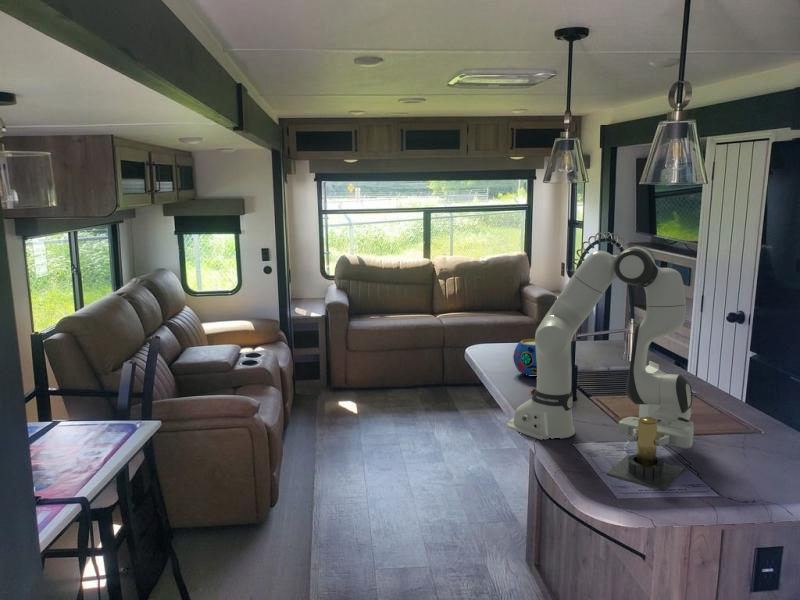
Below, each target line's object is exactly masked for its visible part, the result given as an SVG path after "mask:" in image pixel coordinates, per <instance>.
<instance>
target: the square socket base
mask: <svg viewBox="0 0 800 600" xmlns="http://www.w3.org/2000/svg"><path fill="white" fill-rule="evenodd" d="M683 471H685V470H684V468H683V467H679V466H675V465H672V464H667V463H664V461H663V459H662V458H660V457H657V456H656V465H652V466H647V465H641V464H638V463H637V453H635V454H627V455H625V456H624V457H623V458H622V459H621V460H620V461H619V462H617V463H615V465H614V466H613V467H612V468H611V469H609V470H608V471H607V472H606V475H607V476H609V475H610V476H609V477H613V478H617V479H621V480H625V481H628V482H632V483H635V482H636V484H638V483H639V484H640V485H642V484H643V485H642V486H646V487H649V486H650V488H654V489H657V488H658V489H657V490H661V491H664V492H665V491H666V490H667V489H668V488H669V487H670V485H672V483H673V482H674V481H675V480H677V478H678V477H679V476H680V475H681V474H682V472H683Z"/></svg>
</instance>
